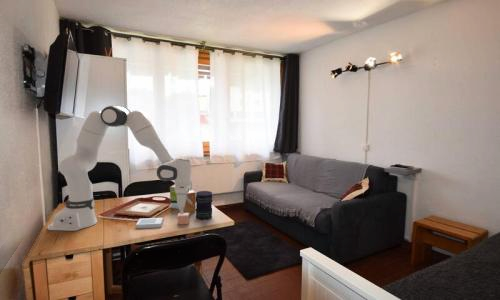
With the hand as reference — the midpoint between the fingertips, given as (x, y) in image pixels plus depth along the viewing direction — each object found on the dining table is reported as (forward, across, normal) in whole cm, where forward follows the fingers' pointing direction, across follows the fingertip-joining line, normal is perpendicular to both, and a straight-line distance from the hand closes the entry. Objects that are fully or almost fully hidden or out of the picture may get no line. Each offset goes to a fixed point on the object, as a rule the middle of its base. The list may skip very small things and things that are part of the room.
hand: (182, 210), depth 152 cm
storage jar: (+7, -8, +12) cm, 16 cm away
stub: (+7, 0, +1) cm, 7 cm away
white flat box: (+8, 0, -17) cm, 19 cm away
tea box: (+8, -33, -3) cm, 34 cm away
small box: (+8, -19, +2) cm, 21 cm away
